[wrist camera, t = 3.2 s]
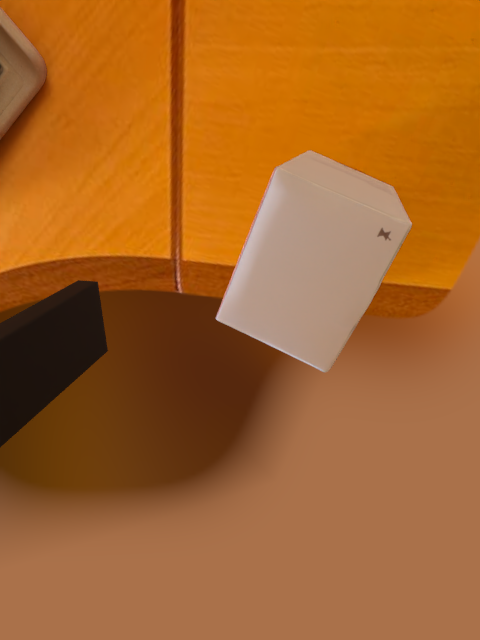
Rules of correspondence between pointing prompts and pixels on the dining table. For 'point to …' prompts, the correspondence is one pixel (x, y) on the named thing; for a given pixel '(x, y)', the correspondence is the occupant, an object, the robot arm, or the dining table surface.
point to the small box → (314, 258)
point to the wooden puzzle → (17, 72)
